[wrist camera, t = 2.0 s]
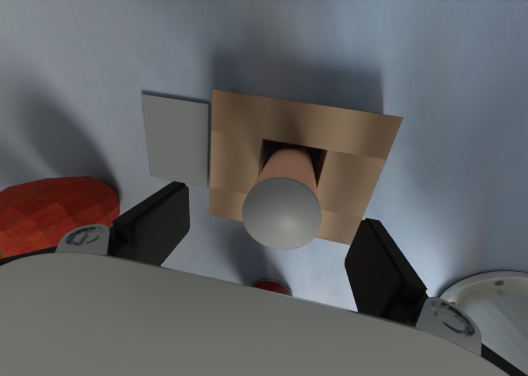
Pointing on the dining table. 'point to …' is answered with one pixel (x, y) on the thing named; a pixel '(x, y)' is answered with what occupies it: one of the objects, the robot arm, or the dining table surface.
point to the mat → (177, 139)
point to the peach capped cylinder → (284, 201)
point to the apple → (52, 211)
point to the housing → (306, 134)
